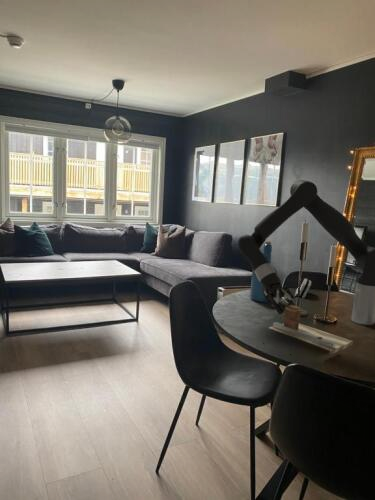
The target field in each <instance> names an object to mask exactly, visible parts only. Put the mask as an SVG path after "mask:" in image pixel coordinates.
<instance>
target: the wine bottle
mask: <svg viewBox="0 0 375 500" xmlns="http://www.w3.org/2000/svg"><path fill="white" fill-rule="evenodd" d="M272 247H273V245H272V242H271V241H266V240H265V242H264V243H263V249H262V251H263V252H262V253H263V254H264V256H265V257H266V259H267V260H268V262H269V264H270V265H271V266H272V267H273V269H274V270H275V272H276V274H277V275H278V276H279V271H278V269H277V267H275V266H273V265H272V264H271V262H272V250H273V249H272ZM251 273H252V274H251V283H250V293H249V294H250V295H249V297H250V300H252V301H254V302H257V303H264V304H268V302H267V301H266V299H265V297H264V295H263V292H264V291H265V290H264V288H263V287H262V285H261V283H260V282H259V280H258V278H257V276H256V274H255V272H254V270H253V269H252V272H251ZM269 300H270V302H271V299H269Z"/></svg>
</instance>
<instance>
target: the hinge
mask: <svg viewBox="0 0 375 500" xmlns="http://www.w3.org/2000/svg"><path fill="white" fill-rule="evenodd" d="M300 286H301V287H300ZM300 286H299V287H300V296H299V297H301V298H302V299H305V298H306V296H307V294H308V292H309V290H310V288H311V286H312V281H311V280H310V279H308V278H304V279H303V281H302V283H301V285H300ZM299 287H297V288H296V290H295V293H294V297H295V296H296V297H297V296H298V295H297V294H298V288H299Z"/></svg>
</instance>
